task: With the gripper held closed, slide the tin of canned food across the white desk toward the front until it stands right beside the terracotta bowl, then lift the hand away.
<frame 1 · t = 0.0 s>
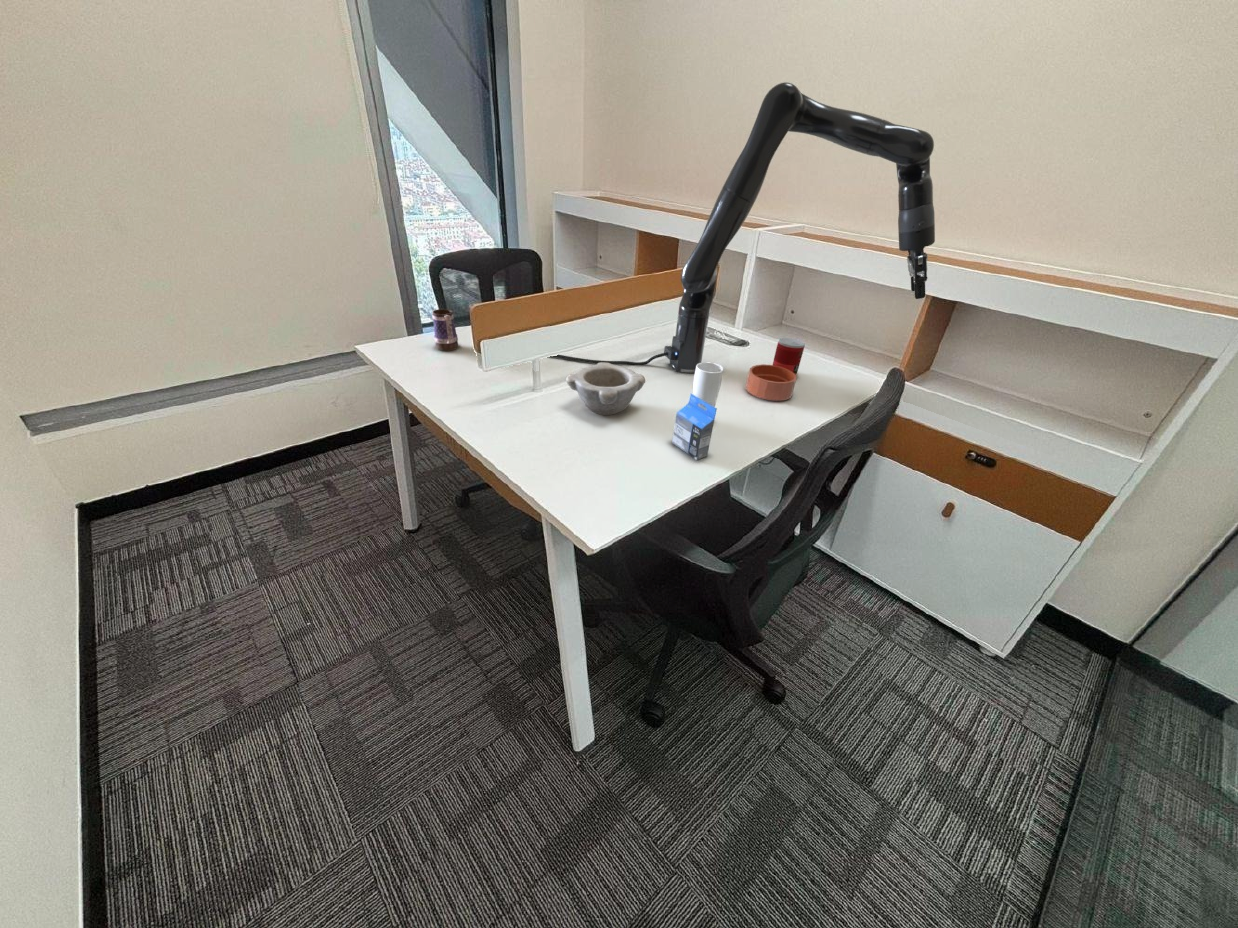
hand: (918, 294, 126), 31 cm above the table, tool tilted 20°, fingers open, 8 cm apart
mortar: (604, 408, 132), on the table
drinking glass: (700, 422, 129), on the table
blue product box: (689, 450, 117), on the table
mug: (448, 349, 160), on the table
canned food: (783, 375, 159), on the table
bowl: (768, 392, 147), on the table
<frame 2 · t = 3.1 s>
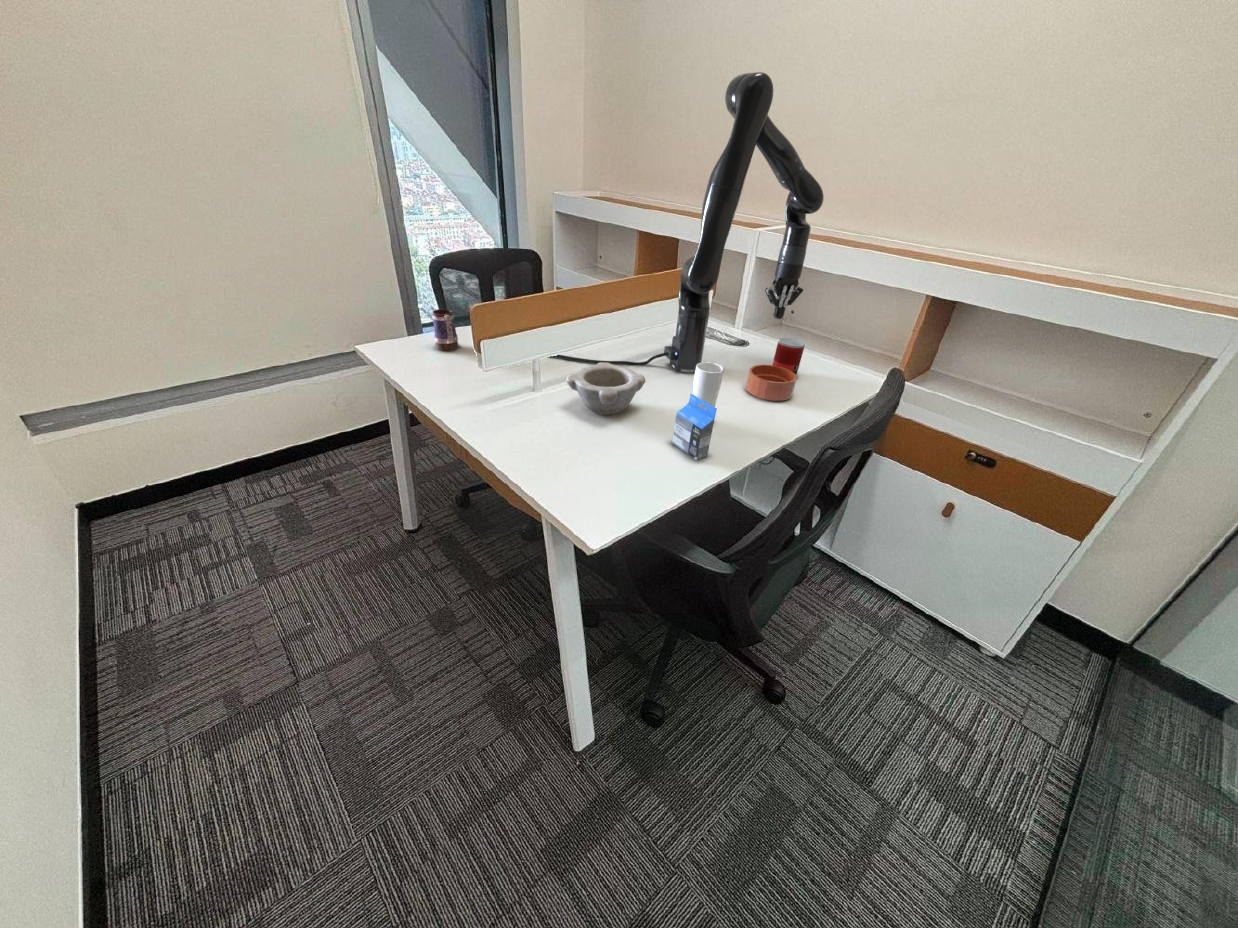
hand: (777, 318, 158), 15 cm above the table, tool pointing down, fingers closed
nothing on the table moved.
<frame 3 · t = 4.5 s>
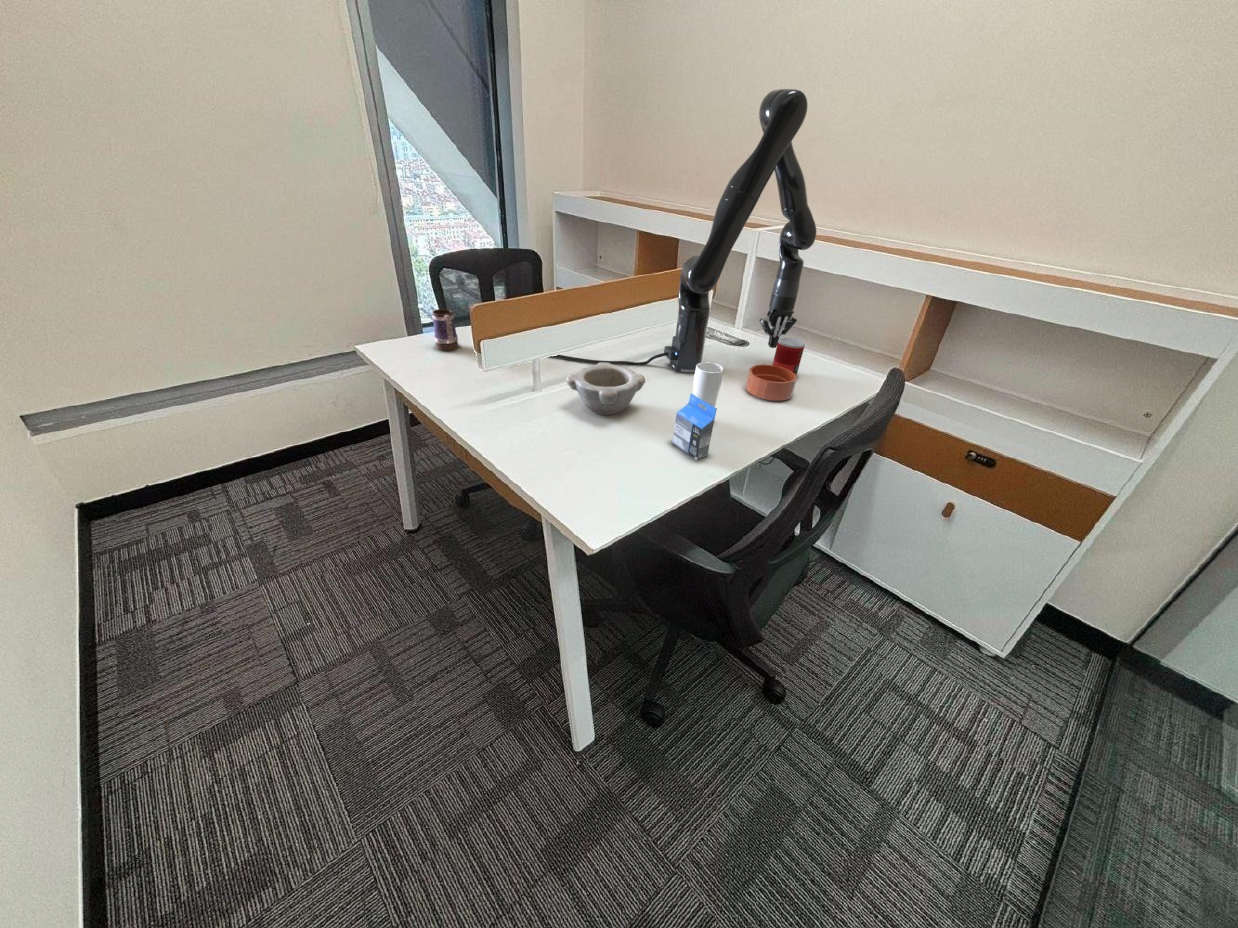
hand: (772, 347, 162), 6 cm above the table, tool pointing down, fingers closed
nothing on the table moved.
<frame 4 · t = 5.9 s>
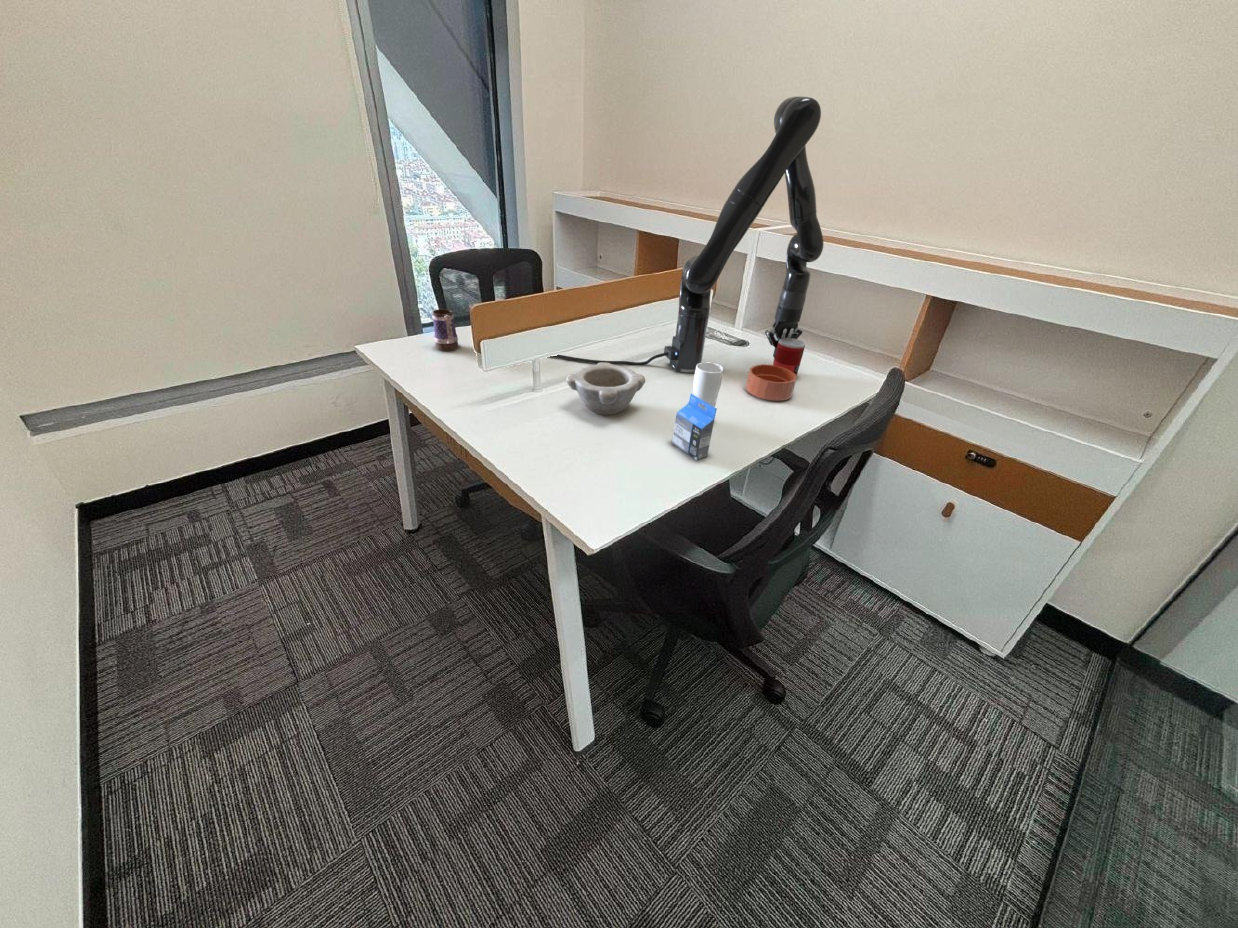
hand: (777, 358, 160), 4 cm above the table, tool pointing down, fingers closed
canned food: (783, 375, 159), on the table, touching gripper
everything else where it was.
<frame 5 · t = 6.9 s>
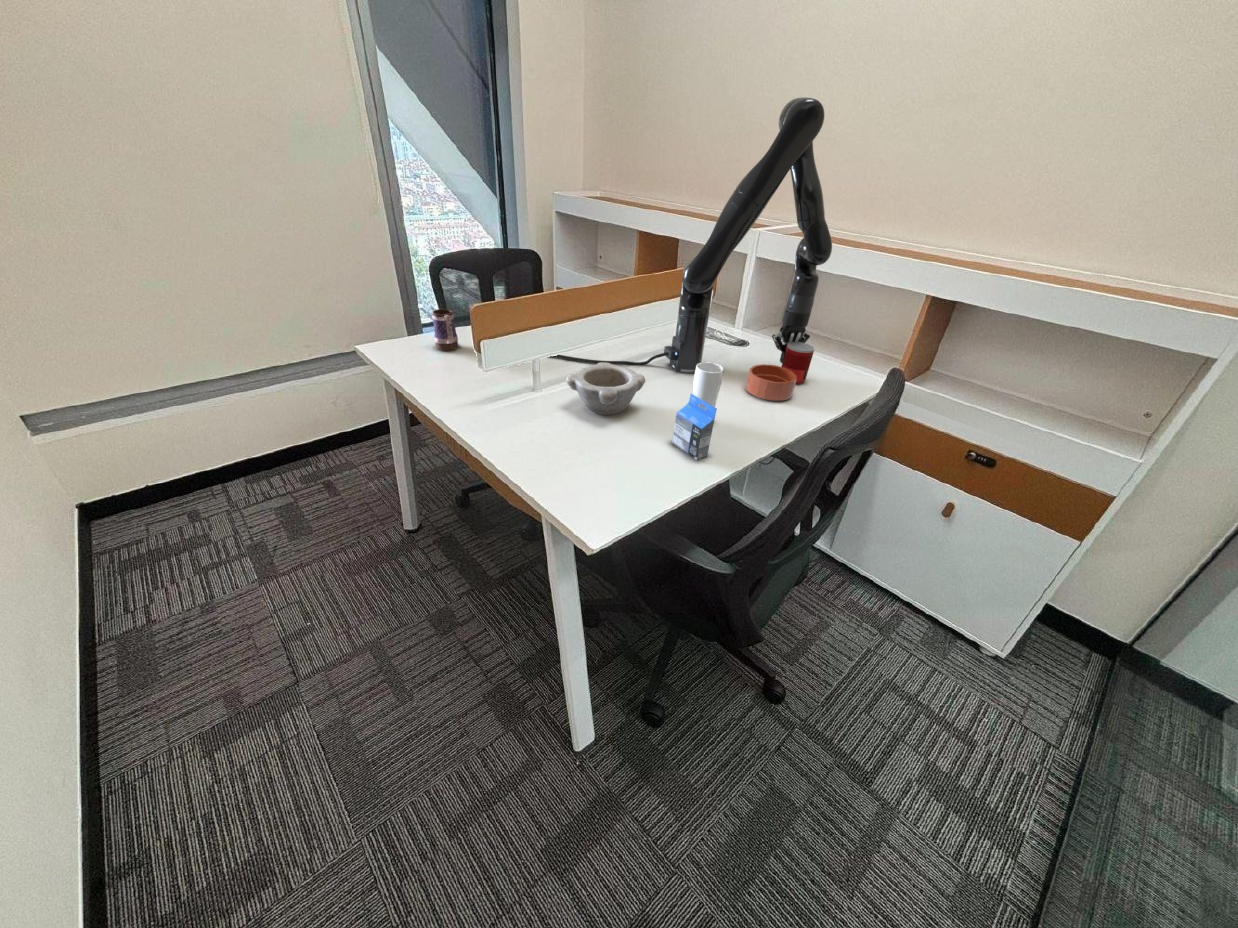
hand: (783, 363, 157), 4 cm above the table, tool pointing down, fingers closed
canned food: (791, 380, 156), on the table, touching gripper
everything else where it was.
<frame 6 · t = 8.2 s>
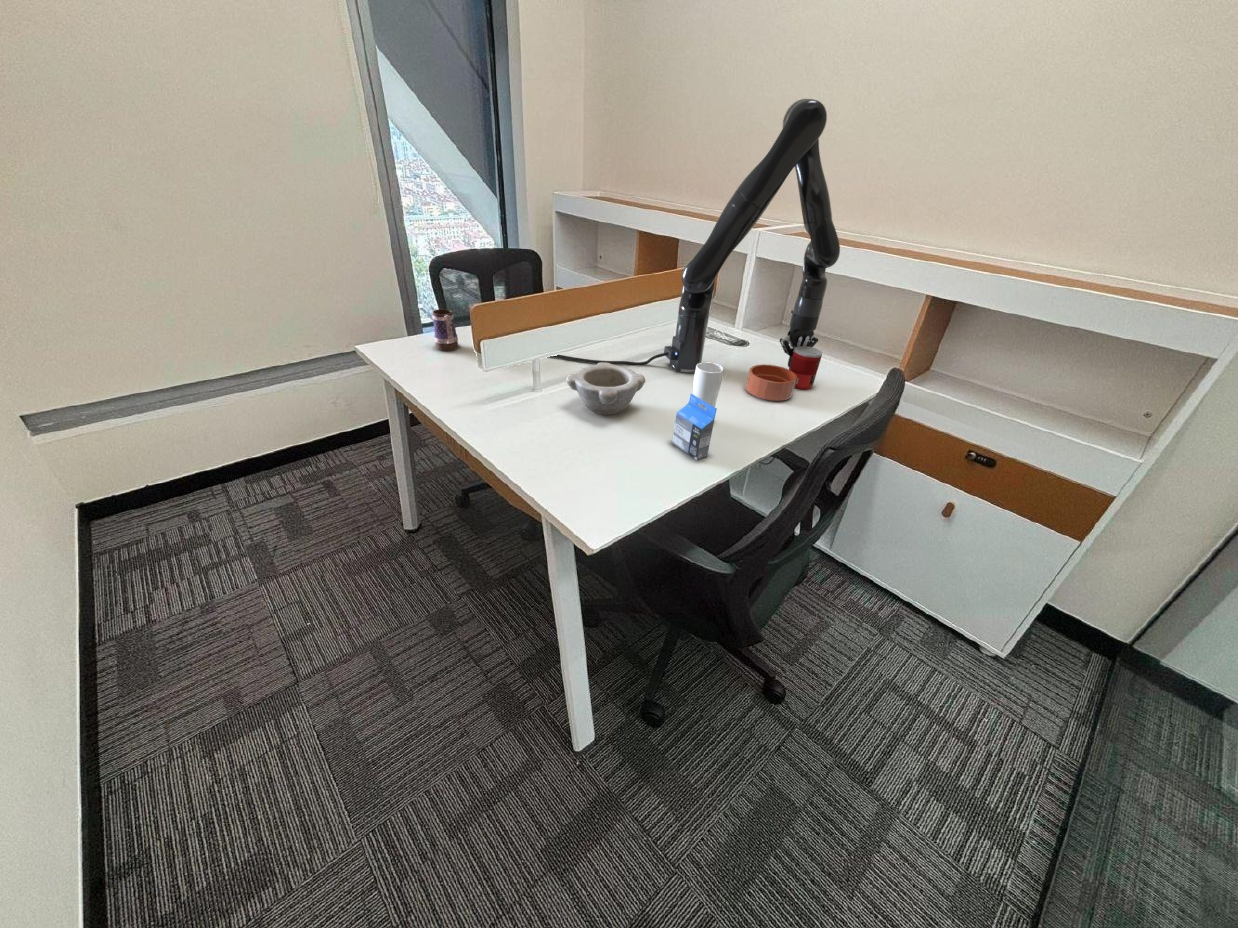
hand: (791, 367, 155), 4 cm above the table, tool pointing down, fingers closed
canned food: (798, 385, 153), on the table, touching gripper
everything else where it was.
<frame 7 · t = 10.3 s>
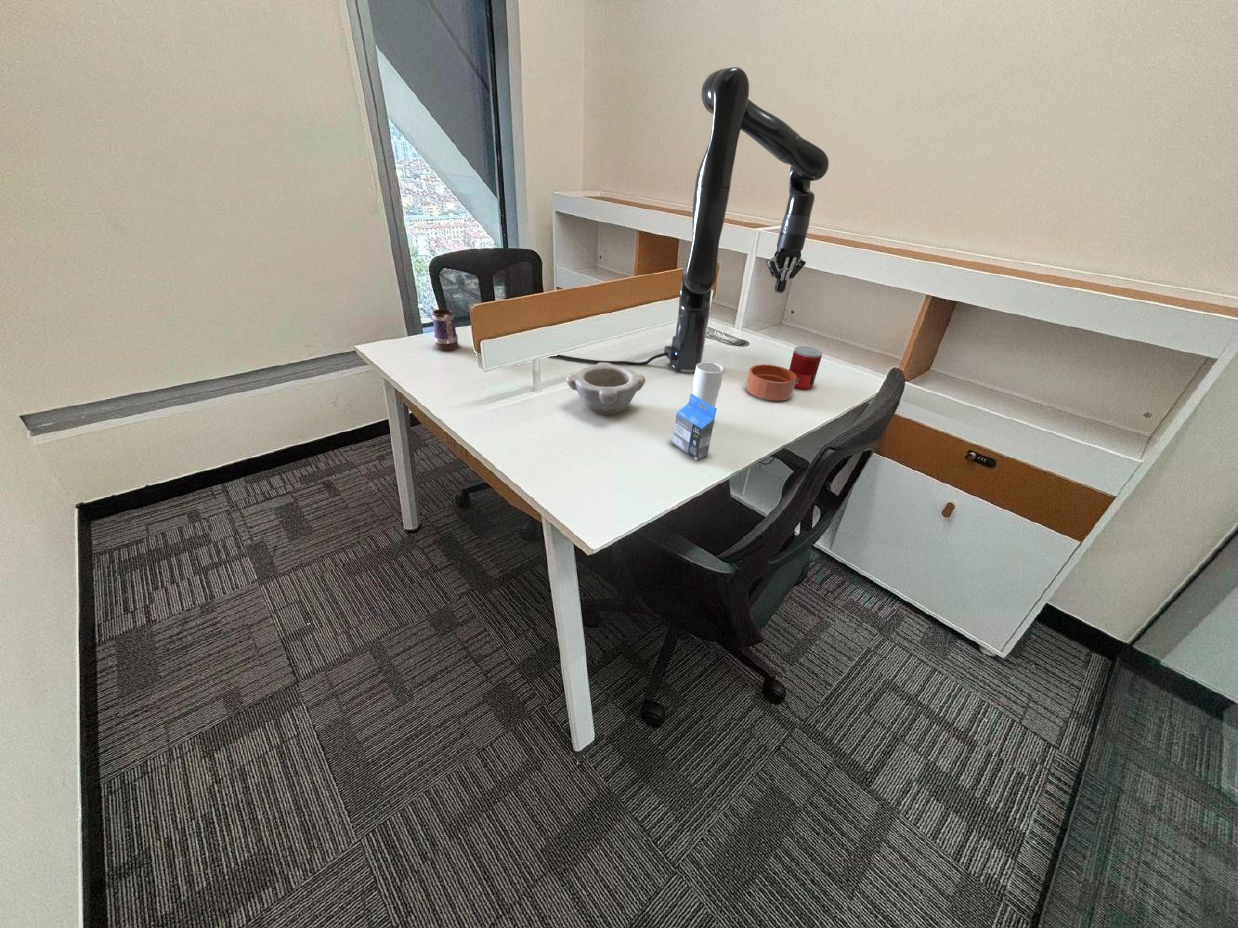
hand: (778, 292, 153), 23 cm above the table, tool pointing down, fingers closed
canned food: (798, 385, 153), on the table
everything else where it was.
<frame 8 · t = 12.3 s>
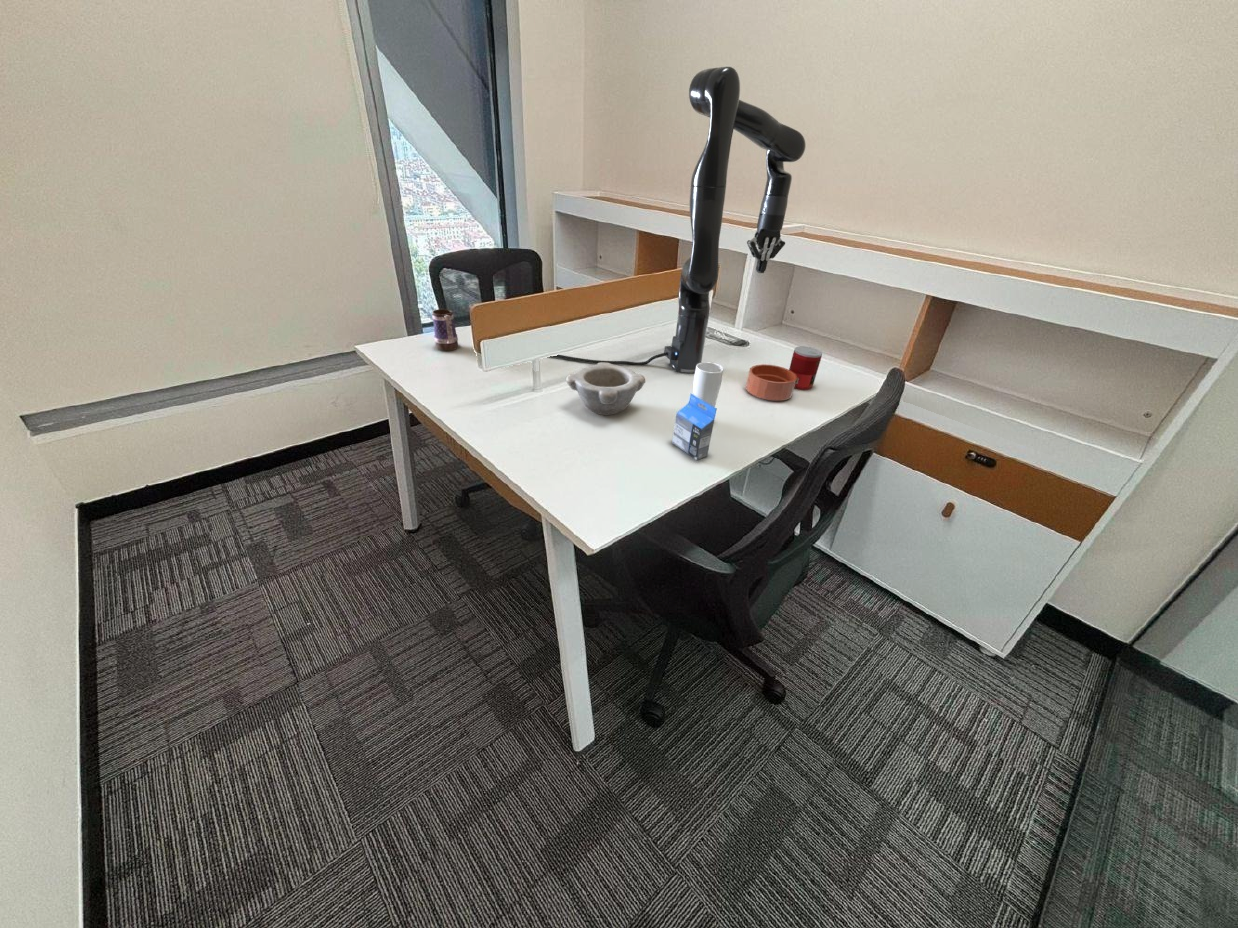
hand: (760, 272, 158), 27 cm above the table, tool pointing down, fingers closed
nothing on the table moved.
at the end: canned food 13.2 cm from the bowl (horizontally); canned food tilted 0°; canned food moved 7.8 cm from its start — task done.
